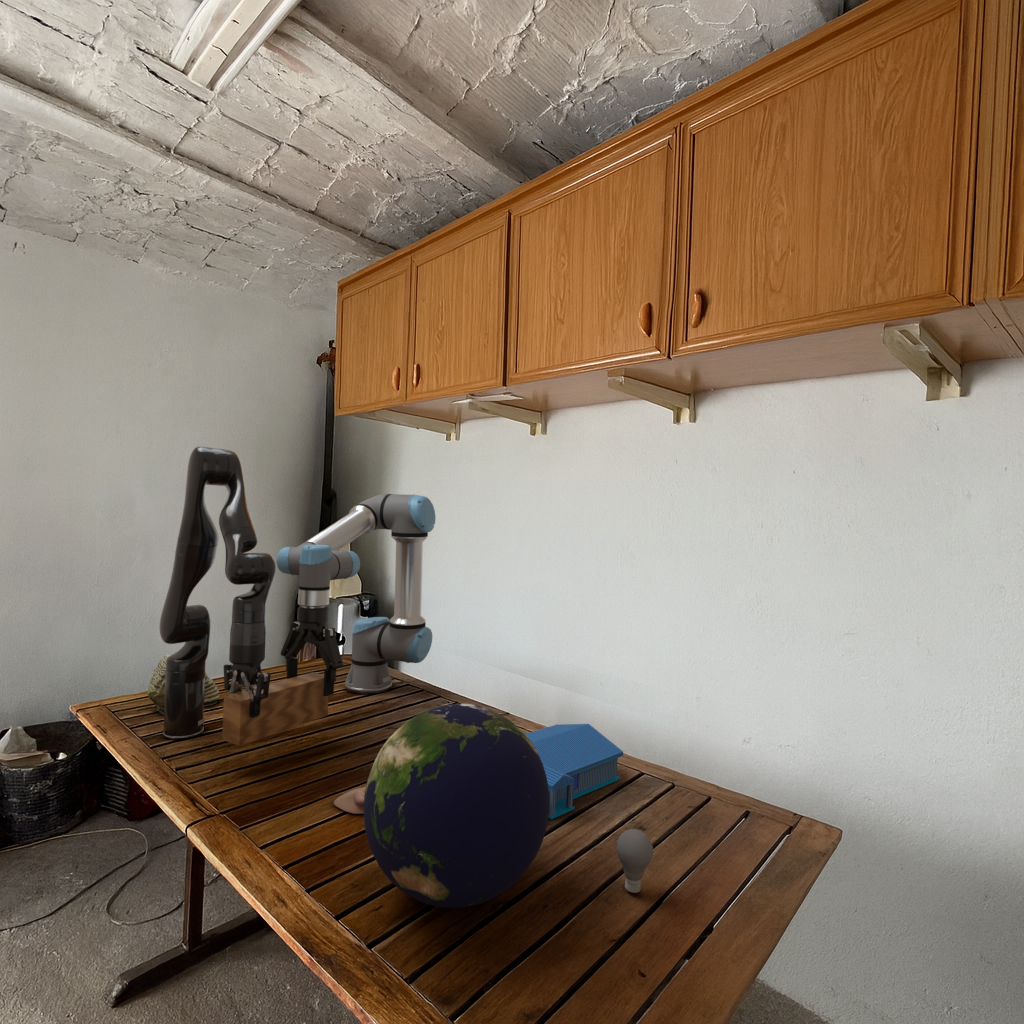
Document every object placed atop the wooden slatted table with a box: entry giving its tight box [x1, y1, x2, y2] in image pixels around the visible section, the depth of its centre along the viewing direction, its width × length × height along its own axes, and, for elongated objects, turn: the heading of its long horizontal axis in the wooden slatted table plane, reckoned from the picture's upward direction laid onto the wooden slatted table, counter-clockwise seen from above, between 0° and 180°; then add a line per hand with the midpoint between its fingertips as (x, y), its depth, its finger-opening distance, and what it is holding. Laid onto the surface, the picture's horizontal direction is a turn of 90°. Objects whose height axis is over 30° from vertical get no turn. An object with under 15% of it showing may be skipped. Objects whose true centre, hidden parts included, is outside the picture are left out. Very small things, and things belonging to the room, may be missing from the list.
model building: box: [524, 723, 624, 820], centre depth 142 cm, size 39×24×10 cm, turn 132°
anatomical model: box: [333, 786, 366, 815], centre depth 132 cm, size 13×4×12 cm
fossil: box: [147, 654, 221, 711], centre depth 185 cm, size 9×18×15 cm, turn 132°
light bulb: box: [615, 828, 654, 894], centre depth 106 cm, size 6×6×10 cm
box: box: [221, 672, 329, 747], centre depth 152 cm, size 26×6×10 cm, turn 149°
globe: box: [363, 703, 549, 909], centre depth 103 cm, size 30×30×30 cm
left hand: (245, 713), depth 145 cm, fingers closed on box, 6 cm apart
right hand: (309, 689), depth 160 cm, fingers open, 13 cm apart
